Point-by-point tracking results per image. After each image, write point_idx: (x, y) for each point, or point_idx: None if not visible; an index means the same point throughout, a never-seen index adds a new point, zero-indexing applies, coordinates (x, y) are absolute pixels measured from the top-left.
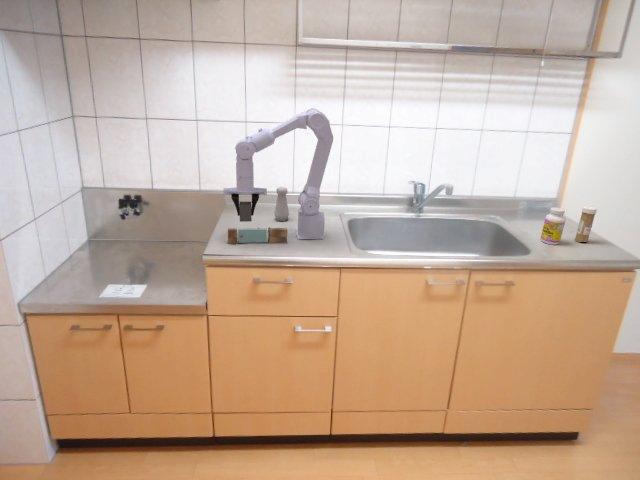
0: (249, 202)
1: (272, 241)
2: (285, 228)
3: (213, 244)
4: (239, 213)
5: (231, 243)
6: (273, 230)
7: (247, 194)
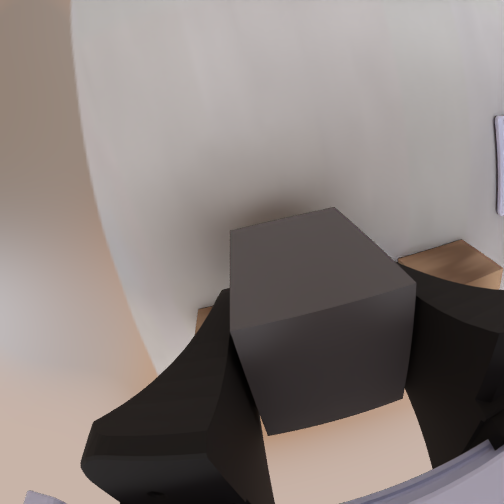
0: (390, 333)
1: None
2: (496, 277)
3: (144, 340)
4: None
5: None
6: None
7: (410, 489)
